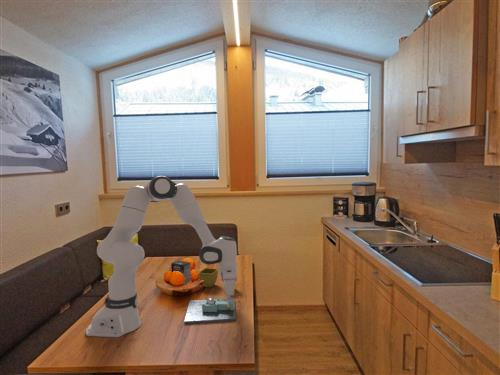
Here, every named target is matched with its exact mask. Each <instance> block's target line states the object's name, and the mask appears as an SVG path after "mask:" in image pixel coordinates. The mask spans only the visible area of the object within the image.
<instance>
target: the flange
mask: <svg viewBox="0 0 500 375" xmlns="http://www.w3.org/2000/svg"><path fill="white" fill-rule="evenodd" d="M216 299H217V300H216ZM219 299H220V298H214V305H209V304H208V298H206V299H204V300H205V301H204V303H203V305H202V312H217V311H218V310H227V303H229V309H230V310H232V311H233V310H234V302H226V301H220V300H219Z"/></svg>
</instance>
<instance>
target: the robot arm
mask: <svg viewBox="0 0 500 375" xmlns="http://www.w3.org/2000/svg"><path fill="white" fill-rule="evenodd" d="M165 200H167V201H169V202H170V203H171V204H172V206H173V208H174V210H175V212H176V214H177V216H178V217H179V219H180V220H181V221H182V222H183V223H184V224H187V225H190V226H191V227H193V228H194V230H195V231H196V234H197V235H198V237H199V239H200V241H201V243H202V247H201V249H200V250H199V252H198V257H199V258H198V259H199V260H200V261H201V263H203V264H205V265H215V264H218V275H220V276H221V277H222V278H223V281H222V282H223V287H224V291H225V297H226V299H230V298H231V296H234V295H235V286H236V282H235V278H236V275H237V274H238V262H237V255H238V249H237V248H238V247H237V242H236V239H235V238H233V237H231V236H226V235H222V236H220V237H219V238H218V239H217V238H216V237H215V236H214V234H213V233H212V231H211V230H210V227H209V226H208V223H207V222H206V221H205V218H204V216H203V212H202V210H201V207H200V205H199V203H198V201H197V198H196V196H195V194H193V192H192V190H191V189H190V187H189V186H188V185H187V184H186V183H175V181H173V180H172V179H170V178H169V177H168V176H164V175H158V176H157V175H156V176H154V177H153V178H152V179H151V180H150V181H149V182H148V183H147V184H146V185H145V186H140V185H133V186H130V187H129V188H128V190H127V191H126V193H125V195H124V198H123V200H122V203H121V206H120V208H119V211H118V214H117V216H116V220H115V223H114V225H113V227H112V228H111V230H110V231H109V233H108V234H107V236H106V237H104V239H103V240H101V241H100V242H98V245H97V247H96V255H97V257H99V259H101V260H102V261H104V262H105V263H109V264H112V265H113V272H112V275H111V276H110V277H108V280H107V283H108V294H107V295H106V297H105V299H104V301H103V305H104V306H102V307H101V308H100V309H98V310H97V312H95V314H94V315H93V317H92V319H91V323H90V324H89V325H88V326H87V327H86V330H85V335H86V336H87V337H103V338H104V337H105V338H107V337H108V338H121V337H123V336H124V335H126V334H128V333H132V332H133V331H135V330H136V329H137V330H138V328H139V327H141V325H142V321H141V318H140V315H139V311H138V303H139V302H138V294H137V292H136V291H137V290H136V276H137V270H138V268H139V266H140V265H141V264H142V263H143V261H144V260H145V249H144V247H143V246H142V245H140V244H139V243H137V242H134V241H131V240H132V239H133V237H134V236H135V235H136V234H137V233H138V232H139V231H140V230H141V229H142V227H143V223H144V220H145V216H146V213H147V210H148V206H149V204H150V203H158V202H162V201H165Z"/></svg>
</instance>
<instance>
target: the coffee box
mask: <svg viewBox="0 0 500 375" xmlns="http://www.w3.org/2000/svg"><path fill="white" fill-rule="evenodd" d="M170 269H171V270H170V271H171V273H172V272H173V271H179V272H181V273H182V274H183V276H184V277H186V278H185V279H186V280H184V284H183V285H185V284H187V283H188V282H190V281H191V282H192V276H191V275H192V272H191V262H190V261H184V260H183V261H182V260H176V261H173V262H171V268H170Z"/></svg>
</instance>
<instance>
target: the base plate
mask: <svg viewBox="0 0 500 375" xmlns="http://www.w3.org/2000/svg"><path fill="white" fill-rule="evenodd" d="M207 299H208V304H209V305H214V299H216V300H217V299H219V300H220V301H226V302H234V310H233V311H232V310H230V309H229V303H227V310H218V311H217V312H202V305H203V303H204V301H205V300H206V299H194V300H193V299H190V300H189V301H188V305H187V310H186V313H185V317H184V321H183V324H184V325H189V324H207V323H209V324H210V323H224V322H236V321H237V320H236V318H237V317H236V303H235V302H236V300H235V297H234V298H233V297H230V299H227V298H214V297H209V298H207Z"/></svg>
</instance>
